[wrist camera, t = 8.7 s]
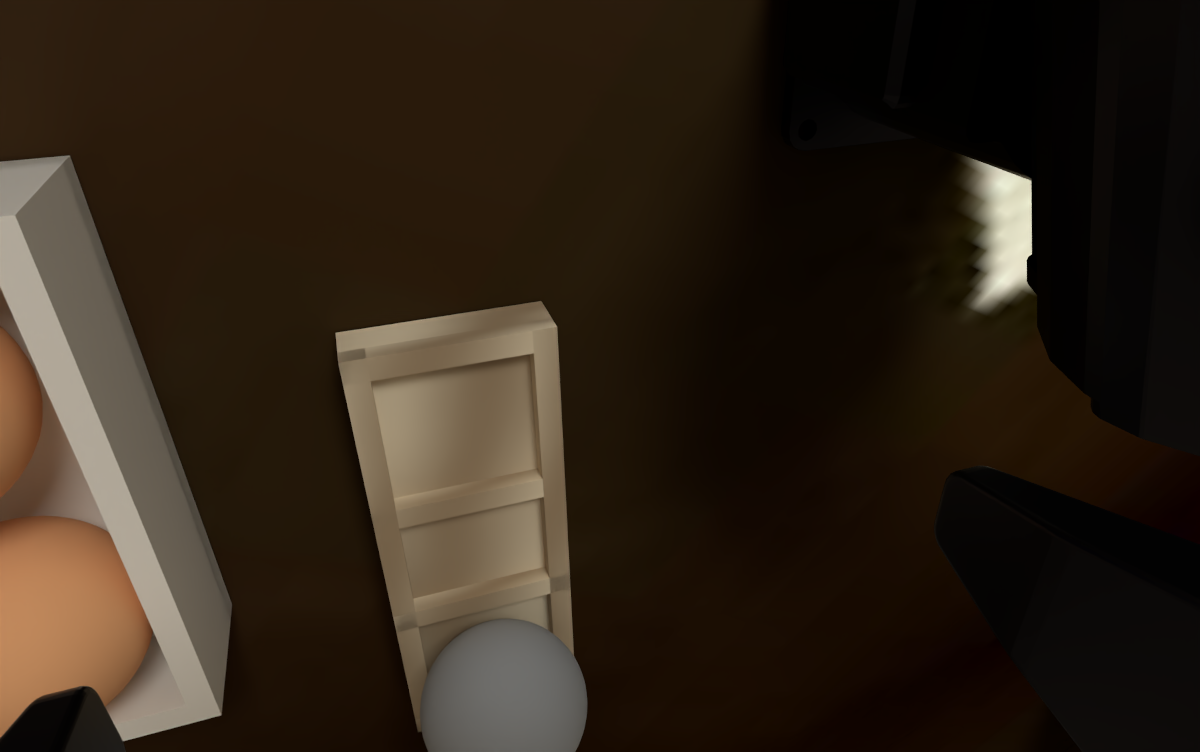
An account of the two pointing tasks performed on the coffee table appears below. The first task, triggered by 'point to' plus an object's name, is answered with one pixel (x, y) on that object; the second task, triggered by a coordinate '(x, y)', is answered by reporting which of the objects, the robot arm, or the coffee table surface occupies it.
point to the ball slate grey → (504, 692)
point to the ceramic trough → (108, 443)
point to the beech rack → (462, 473)
